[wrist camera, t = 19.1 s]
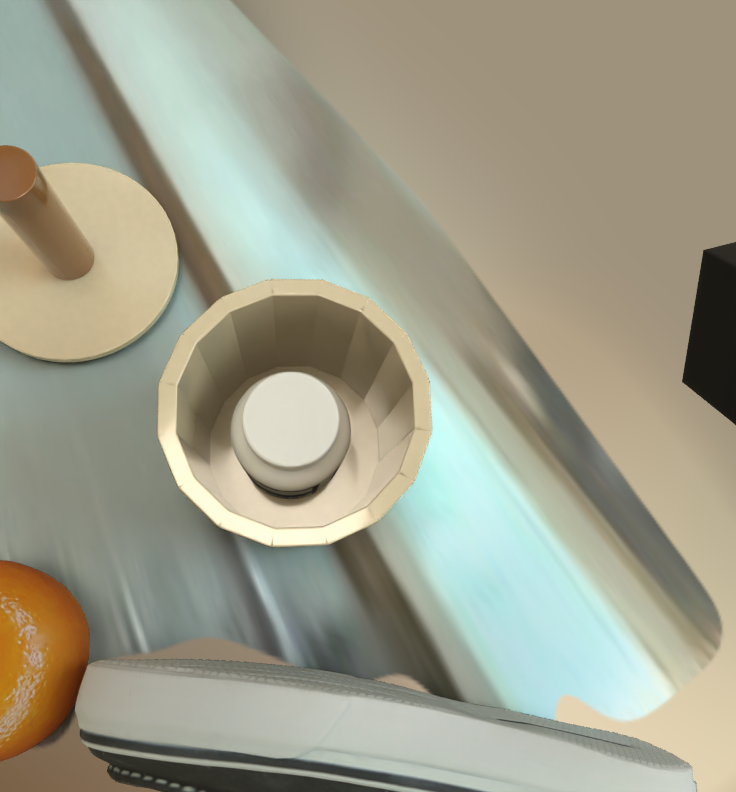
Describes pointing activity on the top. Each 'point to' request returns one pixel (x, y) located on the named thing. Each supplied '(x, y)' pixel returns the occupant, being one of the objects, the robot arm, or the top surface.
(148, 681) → the boat shoe
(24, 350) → the lid
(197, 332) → the pot
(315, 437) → the pill bottle
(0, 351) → the top surface
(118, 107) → the top surface
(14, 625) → the fruit
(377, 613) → the top surface
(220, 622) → the top surface
